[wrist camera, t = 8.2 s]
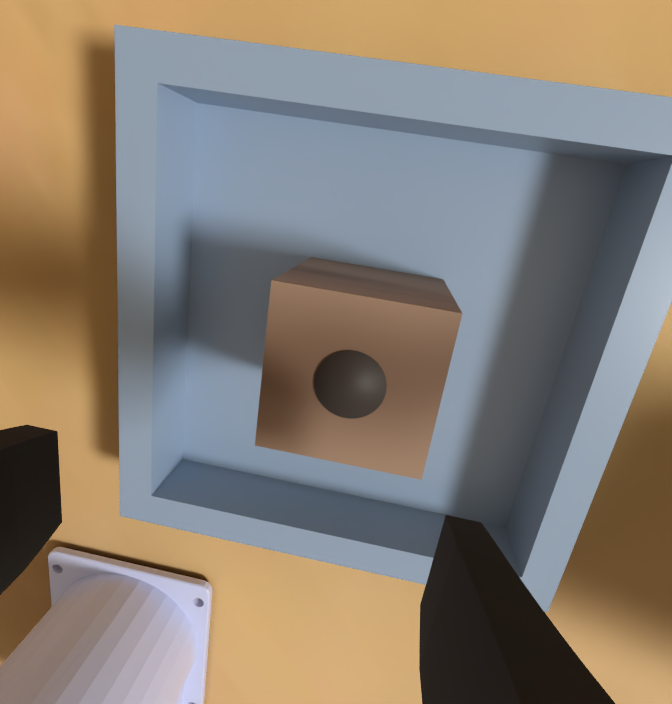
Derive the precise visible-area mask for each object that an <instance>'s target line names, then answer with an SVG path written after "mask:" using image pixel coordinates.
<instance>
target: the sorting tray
mask: <svg viewBox="0 0 672 704" xmlns="http://www.w3.org/2000/svg"><path fill="white" fill-rule="evenodd" d="M114 27H115V117H116V208H117V299H118V390H119V480H120V516H122V517H127V518H131V519H136V520H140V521H144V522H149V523H153V524H158V525H162V526H167V527H171V528H176V529H180V530H184V531H189V532H193V533H198V534H202V535H207V536H211V537H216V538H220V539H224V540H229V541H233V542H238V543H242V544H247V545H251V546H256V547H260V548H264V549H269V550H273V551H278V552H282V553H287V554H291V555H296V556H300V557H304V558H309V559H313V560H318V561H322V562H327V563H331V564H336V565H340V566H344V567H349V568H353V569H358V570H362V571H367V572H371V573H376V574H380V575H385V576H389V577H393V578H398V579H402V580H407V581H411V582H416V583H420V584H425V585H426V583H427V580H428V576H429V573H430V569H431V565H432V562H433V558H434V555H435V551H436V548H437V544H438V540H439V537H440V533H441V530H442V526H443V523H444V519H445V515H449V516H454V517H459V518H463V519H468V520H473V521H477V522H481V523H482V524H483V525H484V527H485V528H486V530H487V531H488V532H489V534H490V535H491V537H492V538H493V540H494V541H495V543H496V544H497V546H498V547H499V548H500V550H501V551H502V553H503V554H504V556H505V557H506V559H507V560H508V562H509V563H510V564H511V566H512V567H513V569H514V570H515V572H516V573H517V575H518V576H519V577H520V579H521V580H522V582H523V583H524V585H525V586H526V587H527V589H528V590H529V592H530V593H531V594H532V596H533V597H534V599H535V600H536V601H537V603H538V604H539V606H540V607H541V608H542V610H543V611H545V612H548V610H549V608H550V605H551V603H552V600H553V598H554V595H555V593H556V590H557V588H558V585H559V583H560V580H561V578H562V575H563V573H564V570H565V568H566V565H567V563H568V560H569V558H570V555H571V553H572V550H573V548H574V545H575V543H576V540H577V538H578V535H579V533H580V530H581V528H582V525H583V523H584V520H585V518H586V515H587V513H588V510H589V508H590V505H591V503H592V500H593V498H594V495H595V493H596V490H597V488H598V485H599V482H600V480H601V477H602V475H603V472H604V470H605V467H606V465H607V462H608V460H609V457H610V455H611V452H612V450H613V447H614V445H615V442H616V440H617V437H618V435H619V432H620V430H621V427H622V425H623V422H624V420H625V417H626V415H627V412H628V410H629V407H630V405H631V402H632V400H633V397H634V395H635V392H636V390H637V387H638V385H639V382H640V380H641V377H642V375H643V372H644V370H645V367H646V365H647V362H648V360H649V357H650V355H651V352H652V350H653V347H654V345H655V342H656V340H657V337H658V335H659V332H660V329H661V327H662V324H663V322H664V319H665V317H666V314H667V312H668V309H669V307H670V304H671V302H672V97H666V96H658V95H650V94H643V93H635V92H627V91H620V90H612V89H604V88H597V87H589V86H581V85H574V84H566V83H558V82H551V81H543V80H535V79H528V78H520V77H512V76H505V75H497V74H489V73H481V72H474V71H466V70H458V69H451V68H443V67H435V66H428V65H420V64H412V63H405V62H397V61H389V60H382V59H374V58H366V57H359V56H351V55H343V54H336V53H328V52H320V51H313V50H305V49H297V48H290V47H282V46H274V45H266V44H259V43H251V42H243V41H236V40H228V39H220V38H213V37H205V36H197V35H190V34H182V33H174V32H167V31H159V30H151V29H144V28H136V27H128V26H121V25H114ZM310 257H314V258H319V259H325V260H331V261H337V262H343V263H349V264H355V265H361V266H367V267H373V268H379V269H385V270H391V271H397V272H403V273H409V274H415V275H421V276H426V277H432V278H438V279H443V280H444V281H445V283H446V285H447V287H448V289H449V290H450V292H451V294H452V296H453V297H454V299H455V301H456V303H457V305H458V306H459V308H460V310H461V312H462V318H461V322H460V326H459V330H458V334H457V338H456V342H455V346H454V350H453V354H452V358H451V362H450V366H449V370H448V375H447V379H446V383H445V387H444V391H443V395H442V399H441V403H440V407H439V411H438V415H437V419H436V423H435V427H434V431H433V436H432V440H431V444H430V448H429V452H428V456H427V460H426V464H425V468H424V472H423V476H422V480H420V479H415V478H410V477H405V476H401V475H396V474H391V473H386V472H381V471H376V470H371V469H366V468H362V467H357V466H352V465H347V464H342V463H337V462H332V461H328V460H323V459H318V458H313V457H308V456H303V455H298V454H294V453H289V452H284V451H279V450H274V449H269V448H264V447H259V446H255V438H256V428H257V418H258V408H259V398H260V388H261V378H262V368H263V358H264V348H265V338H266V328H267V318H268V308H269V298H270V289H271V280H273V279H274V278H276V277H278V276H279V275H281V274H283V273H285V272H286V271H288V270H290V269H291V268H293V267H295V266H297V265H298V264H300V263H302V262H304V261H305V260H307V259H309V258H310Z"/></svg>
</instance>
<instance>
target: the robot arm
mask: <svg viewBox="0 0 672 704" xmlns="http://www.w3.org/2000/svg"><path fill="white" fill-rule="evenodd" d="M61 523H62V513H61V494H60V474H59V454H58V435H57V431H53V430H49V429H44V428H39V427H35V426H30V425H24V426H19V427H13V428H9V429H4V430H0V595H1V594H2V593H3V591H4V590H5V589H6V588H7V587H8V586H9V585H10V584H11V583H12V582H13V581H14V580H15V579H16V578H17V577H18V576H19V575H20V574H21V573H22V572H23V571H24V569H25V568H26V567H27V566H28V565H29V563H30V562H31V561H32V560H33V559H34V557H35V556H36V555H37V554H38V552H39V551H40V550H41V549H42V547H43V546H44V545H45V544H46V542H47V541H48V540H49V538H50V537H51V536H52V534H53V533H54V532H55V530H56V529H57V528H58V526H59V525H60V524H61ZM48 566H49V579H50V592H51V605H52V607H51V608H50V609H49V610H48V612H47V613H46V614H45V615H44V616H43V617H42V619H41V620H40V621H39V622H38V623H37V624H36V625H35V627H34V628H33V629H32V630H31V631H30V632H29V633H28V635H27V636H26V637H25V638H24V639H23V640H22V642H21V643H20V644H19V645H18V646H17V647H16V648H15V650H14V651H13V652H12V653H11V654H10V655H9V656H8V658H7V659H6V660H5V661H4V662H3V663H2V665H1V666H0V704H204V696H205V682H206V669H207V656H208V643H209V629H210V616H211V603H212V587H211V585H210V584H209V583H208V582H207V581H204V580H201V579H197V578H193V577H188V576H184V575H180V574H176V573H171V572H167V571H163V570H158V569H154V568H150V567H146V566H141V565H137V564H133V563H128V562H124V561H120V560H116V559H111V558H107V557H103V556H99V555H94V554H90V553H86V552H81V551H77V550H73V549H69V548H64V547H56V548H54V549H53V550H52V551H51V552H50V553H49V554H48ZM199 598H200V599H199ZM201 599H202V600H201ZM420 680H421V692H422V703H423V704H615V703H614V701H613V700H612V699H611V698H610V696H609V695H608V694H607V693H606V691H605V690H604V689H603V688H602V687H601V685H600V684H599V683H598V682H597V680H596V679H595V678H594V677H593V675H592V674H591V673H590V672H589V670H588V669H587V668H586V667H585V665H584V664H583V663H582V661H581V660H580V659H579V658H578V656H577V655H576V654H575V652H574V651H573V650H572V648H571V647H570V646H569V645H568V643H567V642H566V641H565V639H564V638H563V637H562V635H561V634H560V633H559V631H558V630H557V629H556V627H555V626H554V625H553V623H552V622H551V621H550V619H549V618H548V616H547V615H546V614H545V612H544V611H543V610H542V608H541V607H540V606H539V604H538V603H537V601H536V600H535V599H534V597H533V596H532V594H531V593H530V592H529V590H528V589H527V587H526V586H525V585H524V583H523V582H522V580H521V579H520V577H519V576H518V575H517V573H516V572H515V570H514V569H513V567H512V566H511V564H510V563H509V562H508V560H507V559H506V557H505V556H504V554H503V553H502V551H501V550H500V548H499V547H498V546H497V544H496V543H495V541H494V540H493V538H492V537H491V535H490V534H489V532H488V531H487V530H486V528H485V527H484V525H483V524H482V523H481V522H477V521H473V520H468V519H463V518H459V517H454V516H449V515H445V519H444V523H443V526H442V530H441V533H440V537H439V540H438V544H437V548H436V551H435V555H434V558H433V562H432V565H431V569H430V573H429V576H428V580H427V583H426V587H425V590H424V594H423V598H422V601H421V605H420Z"/></svg>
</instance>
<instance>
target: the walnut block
mask: <svg viewBox="0 0 672 704" xmlns="http://www.w3.org/2000/svg"><path fill="white" fill-rule="evenodd" d="M461 318H462V312H461V310H460V308H459V306H458V305H457V303H456V301H455V299H454V297H453V296H452V294H451V292H450V290H449V289H448V287H447V285H446V283H445V281H444V280H443V279H438V278H432V277H426V276H421V275H415V274H409V273H403V272H397V271H391V270H385V269H379V268H373V267H367V266H361V265H355V264H349V263H343V262H337V261H331V260H325V259H319V258H314V257H310V258H309V259H307V260H305V261H304V262H302V263H300V264H298V265H297V266H295V267H293V268H291V269H290V270H288V271H286V272H285V273H283V274H281V275H279V276H278V277H276V278H274V279H273V280H271V289H270V298H269V308H268V318H267V328H266V338H265V348H264V358H263V368H262V378H261V388H260V398H259V408H258V418H257V428H256V438H255V446H259V447H264V448H269V449H274V450H279V451H284V452H289V453H294V454H298V455H303V456H308V457H313V458H318V459H323V460H328V461H332V462H337V463H342V464H347V465H352V466H357V467H362V468H366V469H371V470H376V471H381V472H386V473H391V474H396V475H401V476H405V477H410V478H415V479H420V480H422V476H423V472H424V468H425V464H426V460H427V456H428V452H429V448H430V444H431V440H432V436H433V431H434V427H435V423H436V419H437V415H438V411H439V407H440V403H441V399H442V395H443V391H444V387H445V383H446V379H447V375H448V370H449V366H450V362H451V358H452V354H453V350H454V346H455V342H456V338H457V334H458V330H459V326H460V322H461Z"/></svg>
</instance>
